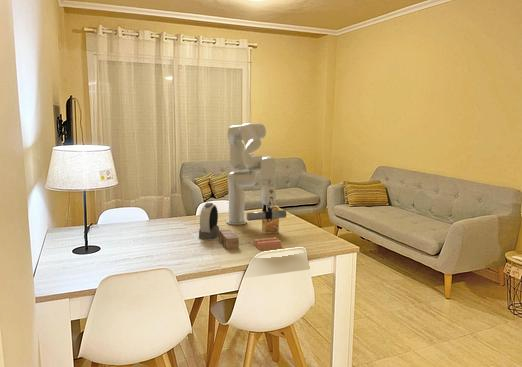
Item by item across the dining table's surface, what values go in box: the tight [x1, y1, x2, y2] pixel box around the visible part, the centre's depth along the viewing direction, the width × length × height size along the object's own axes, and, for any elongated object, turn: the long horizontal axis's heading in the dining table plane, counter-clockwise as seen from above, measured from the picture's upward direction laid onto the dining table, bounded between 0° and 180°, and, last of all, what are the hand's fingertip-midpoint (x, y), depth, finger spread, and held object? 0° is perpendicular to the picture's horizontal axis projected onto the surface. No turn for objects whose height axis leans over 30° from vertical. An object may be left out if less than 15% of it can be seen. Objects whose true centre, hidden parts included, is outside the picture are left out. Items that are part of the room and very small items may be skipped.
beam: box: [218, 228, 240, 250], centre depth 205 cm, size 16×6×6 cm, turn 21°
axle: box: [246, 209, 287, 222], centre depth 201 cm, size 20×4×4 cm, turn 110°
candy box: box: [261, 204, 280, 235], centre depth 225 cm, size 9×4×15 cm, turn 107°
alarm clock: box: [198, 202, 220, 241], centre depth 217 cm, size 16×10×18 cm, turn 168°
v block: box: [252, 236, 282, 251], centre depth 203 cm, size 9×12×3 cm
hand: (267, 217), depth 201 cm, fingers closed on axle, 4 cm apart
